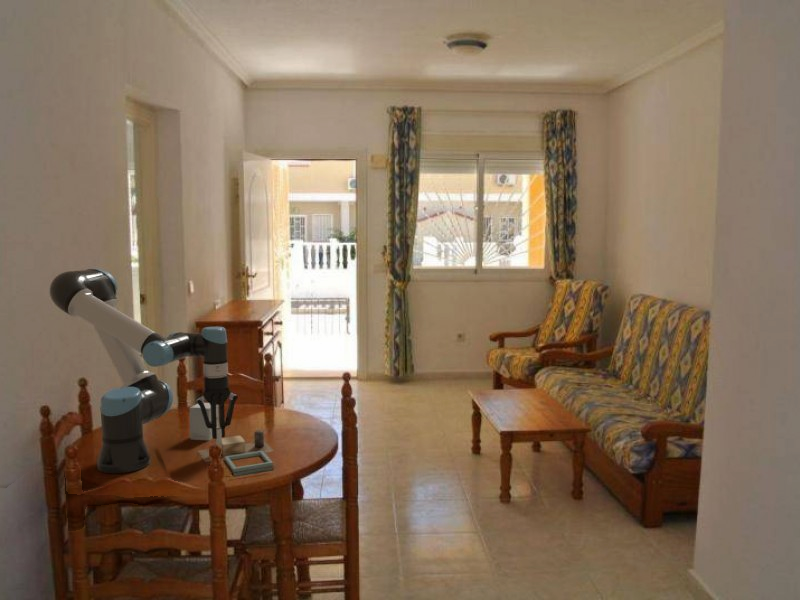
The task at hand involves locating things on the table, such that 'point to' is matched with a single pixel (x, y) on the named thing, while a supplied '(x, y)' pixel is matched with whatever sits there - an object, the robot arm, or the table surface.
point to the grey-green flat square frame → (249, 467)
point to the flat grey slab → (249, 447)
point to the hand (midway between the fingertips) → (219, 447)
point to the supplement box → (201, 422)
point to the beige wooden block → (233, 445)
